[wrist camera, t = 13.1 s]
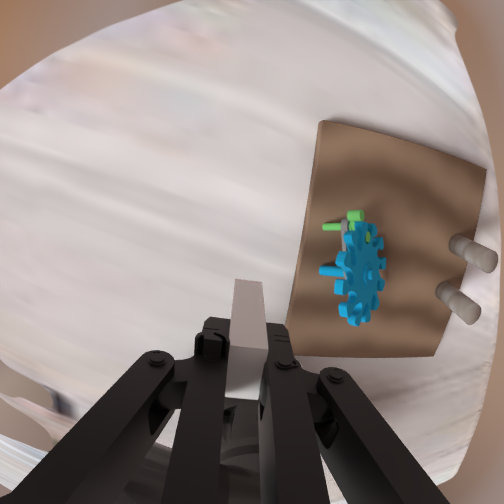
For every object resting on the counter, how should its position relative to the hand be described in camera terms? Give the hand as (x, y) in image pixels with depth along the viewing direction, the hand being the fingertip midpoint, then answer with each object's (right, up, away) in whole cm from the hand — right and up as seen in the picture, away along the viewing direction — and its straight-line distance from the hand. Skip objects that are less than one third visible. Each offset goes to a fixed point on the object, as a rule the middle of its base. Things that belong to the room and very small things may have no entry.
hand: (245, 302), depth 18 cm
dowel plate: (+16, +3, +16) cm, 23 cm away
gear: (+11, +2, +14) cm, 18 cm away
